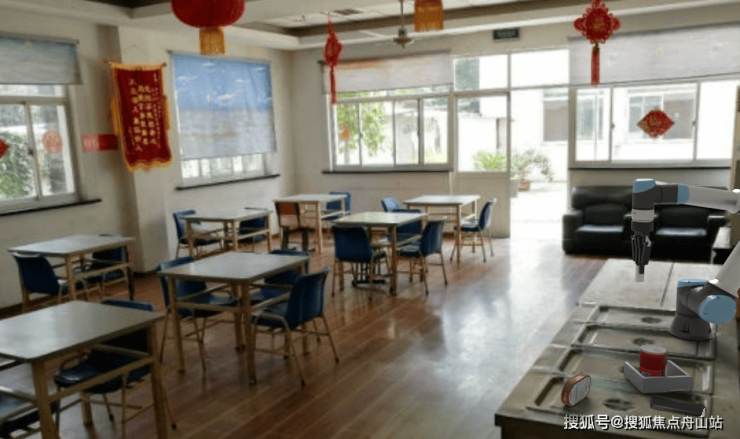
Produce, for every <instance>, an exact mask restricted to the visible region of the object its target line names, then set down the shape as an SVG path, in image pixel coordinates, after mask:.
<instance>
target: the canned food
mask: <svg viewBox="0 0 740 439" xmlns="http://www.w3.org/2000/svg"><path fill="white" fill-rule="evenodd" d="M639 348H640V349H639V364H638V365H639V366H638V368H639V369H638V372H639V373H641V374H642V375H643V376H644V377H660V376H666V369H667V365H666V364H667V349H666V348H665V347H663V346H659V345H657V344H642V345H641V346H640V347H639Z"/></svg>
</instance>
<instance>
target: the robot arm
mask: <svg viewBox="0 0 740 439" xmlns="http://www.w3.org/2000/svg"><path fill="white" fill-rule="evenodd" d="M631 192H632V204H631V212H630V214H631V219H632V220H631V225H630V228H631V229H630V230H631V231H632V232H634V233H633V235H630V242H631V254H632V262H634V264H635V274H634V282H635V283H645V270H646V269H645V267H646V266H648V265H649V262H650V257H651V252H652V247H653V244H654V241H651V240H650V232H653V231H654V218H655V205H682V204H683V205H690V206H696V207H703V208H709V209H710V208H711V209H716V210H723V211H724V210H725V211H728V212H729V213H730V214H733V215H735V214H736V215H740V189H739V188H738V189H737V188H736V189H733V190H726V189H721V188H718V189H717V188H711V187H705V186H704V187H703V186H699V185H697V186H696V185H689V184H686V183H678V182H677V183H676V182H668V181H664V180H663V181H662V180H661V181H660V180H658V179H653V178H636V179H635V180H634V181H633V184H632V191H631ZM739 289H740V240H739V241H738V242H737V244H736V245H735V247H734V248H733V250H732V251H731V253H730V254H729V256H728V257H727V259H726V260H725V262H724V264H723V265H722V266H721V268H720V269H719V271H718V272H717V274H716V276H714V278H713V279H710V280H709V279H705V278H704V279H703V278H681V279H679V280H678V281H677V286H676V299H675V300H676V302H675V313H674V314H675V315H674V317H673V319H672V321H671V324H670V326H669V333H670V335H672V336H674V337H676V338H679V339H684V340H689V341H700V342H701V341H709V340H710V339H709V338H710V337H711V336H712V337H713V330H712V327H711V324H713V325H721V324H727V323H728V322H730V321H731V320H732V319H733V318H734V317H735V315H736V313H737V303H736V302H737V300H738V299H739V295H738V290H739Z"/></svg>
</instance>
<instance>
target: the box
mask: <svg viewBox="0 0 740 439" xmlns="http://www.w3.org/2000/svg"><path fill="white" fill-rule="evenodd" d="M623 364H624V365H623V377H624V378H626V379H627V380H628V379H629V380H630V381H632V382H633V383H634V384H635V386H636V387H635V386H634V387H635V388H636V389H637V390H639V391H640V392H641V394H653V393H657V394H658V393H669V392H668V391H670V390H674V389H677V390H678V389H685V390H686V389H687V390H688V389H689V390H691V391H692V386H693V384H692V383H693V376H692V375H690V374H689V373H688V372H686V371H685V370H684V369H683V368H681V367H680V366H678V365H677V364H676V363H675V362H673V361H672V360H671V359H670V360H669V359H668V360H667V359H666V364H667V365H666V375H667V376H666V375H665V376H660V377H644V376H643V375H642V374H641V373H639V370H637V369H636V368H635V367H634V366H633V365H631V363H629V361H624V362H623ZM629 380H628V381H629ZM630 381H629V382H630Z"/></svg>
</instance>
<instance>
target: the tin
mask: <svg viewBox="0 0 740 439" xmlns="http://www.w3.org/2000/svg"><path fill="white" fill-rule="evenodd" d="M591 384H592V377H591V375H590V374H588V373H584V372H583V371H581V372H578V373H576V374H575V375H573V376H571V377H570V378H568V379H566V381H565V383H564V385H563V387H562V389H561V393H560V402H561V403H562V404H563V405H566V406H568V407H574V406H575V405H577V404H578V403H579V404H580V402H581V401H584V400H585V399H586V398H587V396H588V395H589V392H591Z"/></svg>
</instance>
